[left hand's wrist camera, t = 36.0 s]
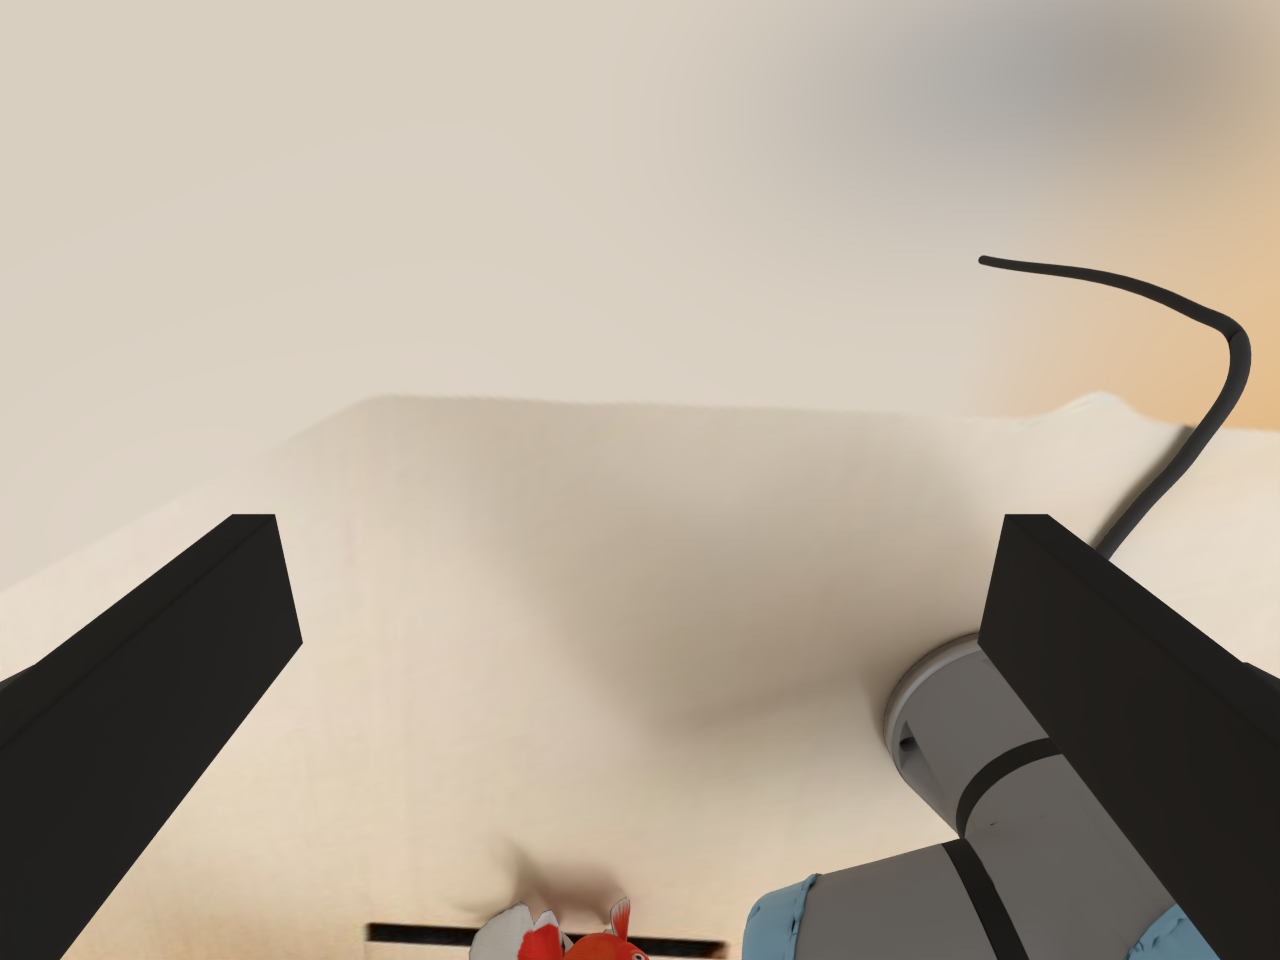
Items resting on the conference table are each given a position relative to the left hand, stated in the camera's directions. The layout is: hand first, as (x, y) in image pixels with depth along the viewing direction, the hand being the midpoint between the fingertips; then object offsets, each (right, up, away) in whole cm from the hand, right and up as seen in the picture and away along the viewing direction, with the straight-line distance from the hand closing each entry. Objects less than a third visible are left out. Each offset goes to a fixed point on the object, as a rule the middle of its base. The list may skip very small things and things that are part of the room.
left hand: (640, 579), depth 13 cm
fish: (-7, -36, +47) cm, 60 cm away
